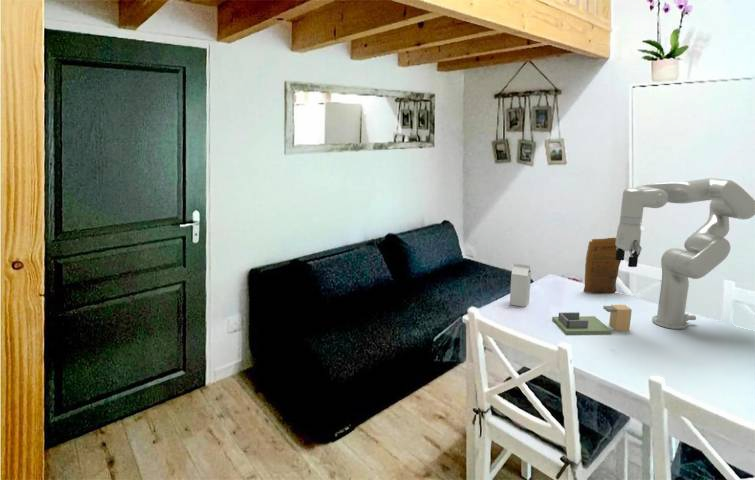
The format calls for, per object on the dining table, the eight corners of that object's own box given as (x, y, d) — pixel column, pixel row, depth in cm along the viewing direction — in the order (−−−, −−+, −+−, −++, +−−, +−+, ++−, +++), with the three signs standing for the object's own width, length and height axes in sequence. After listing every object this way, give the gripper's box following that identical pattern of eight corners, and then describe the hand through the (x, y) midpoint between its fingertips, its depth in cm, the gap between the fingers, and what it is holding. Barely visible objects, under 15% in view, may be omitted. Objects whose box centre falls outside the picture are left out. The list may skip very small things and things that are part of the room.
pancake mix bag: (623, 294, 234) (629, 238, 228) (584, 294, 234) (589, 238, 228) (616, 289, 241) (622, 235, 235) (578, 290, 241) (583, 235, 235)
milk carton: (525, 307, 218) (527, 267, 214) (509, 304, 222) (511, 265, 217) (529, 302, 224) (531, 263, 220) (513, 300, 227) (516, 261, 223)
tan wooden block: (622, 325, 197) (624, 304, 195) (629, 330, 192) (631, 309, 190) (600, 325, 197) (602, 304, 195) (606, 330, 192) (609, 309, 190)
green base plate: (594, 319, 203) (595, 309, 202) (611, 334, 189) (612, 323, 188) (552, 320, 203) (552, 310, 202) (565, 334, 189) (566, 323, 188)
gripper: (610, 216, 193) (605, 257, 197) (632, 224, 176) (627, 269, 180) (628, 216, 193) (624, 257, 197) (653, 224, 176) (647, 269, 180)
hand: (625, 263), depth 188 cm, fingers open, 9 cm apart
